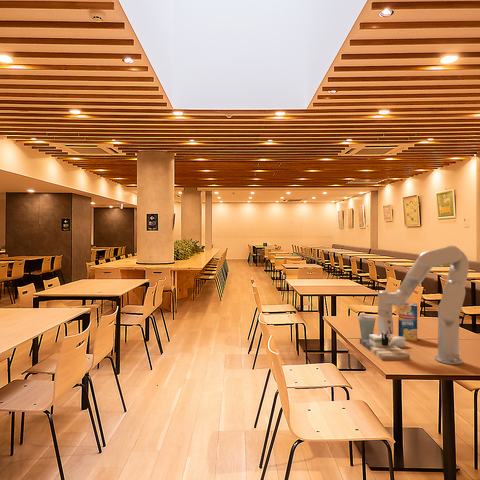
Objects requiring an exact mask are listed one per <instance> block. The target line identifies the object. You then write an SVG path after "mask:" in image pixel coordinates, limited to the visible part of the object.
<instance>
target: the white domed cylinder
mask: <svg viewBox="0 0 480 480" xmlns="http://www.w3.org/2000/svg"><path fill="white" fill-rule="evenodd" d="M391 342H392V344H393V345H395V346H397V347H398V348H400V349H402V348H406V340H405V337H402V336H398V335H394V336H392V339H391Z"/></svg>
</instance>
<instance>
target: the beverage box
mask: <svg viewBox="0 0 480 480" xmlns="http://www.w3.org/2000/svg"><path fill="white" fill-rule="evenodd" d="M397 310H398V312H397V313H398V315H397V316H398V320H397V323H398V324H397V325H398V329H397V330H398V333H397V334H398V335H397V336H402V337H405V341H416V342H417V341H418V304H417V303H412V302H411V303H410V302H409V303H408V302H406V303H405V304H404V305H402V306H397Z"/></svg>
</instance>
